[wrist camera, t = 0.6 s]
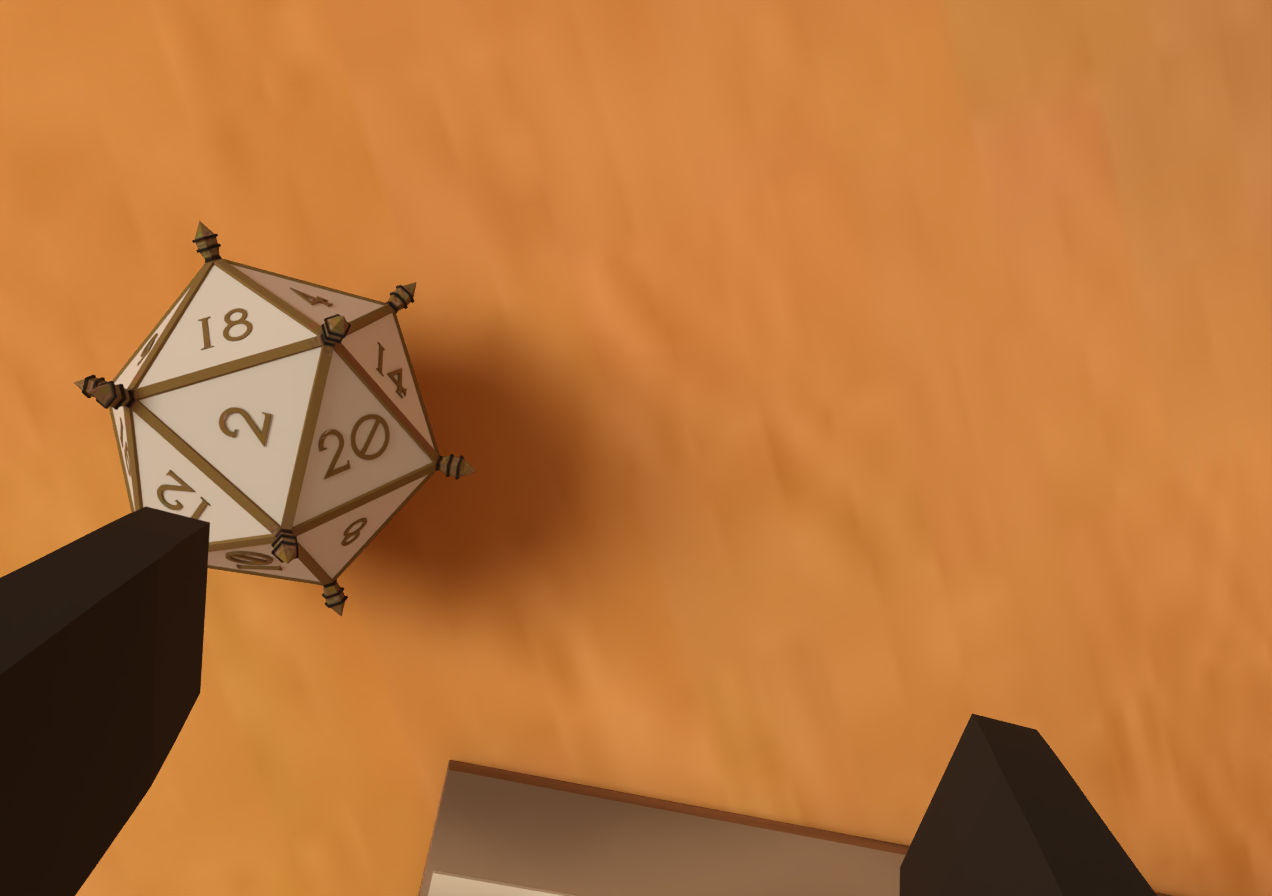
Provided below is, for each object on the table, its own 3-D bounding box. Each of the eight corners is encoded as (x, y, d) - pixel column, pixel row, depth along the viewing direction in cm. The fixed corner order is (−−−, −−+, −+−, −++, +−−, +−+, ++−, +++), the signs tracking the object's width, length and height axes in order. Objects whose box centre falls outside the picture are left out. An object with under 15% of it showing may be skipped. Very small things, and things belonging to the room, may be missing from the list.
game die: (336, 367, 36) (473, 162, 29) (412, 632, 34) (584, 479, 26) (8, 381, 31) (74, 132, 23) (67, 697, 28) (163, 529, 21)
